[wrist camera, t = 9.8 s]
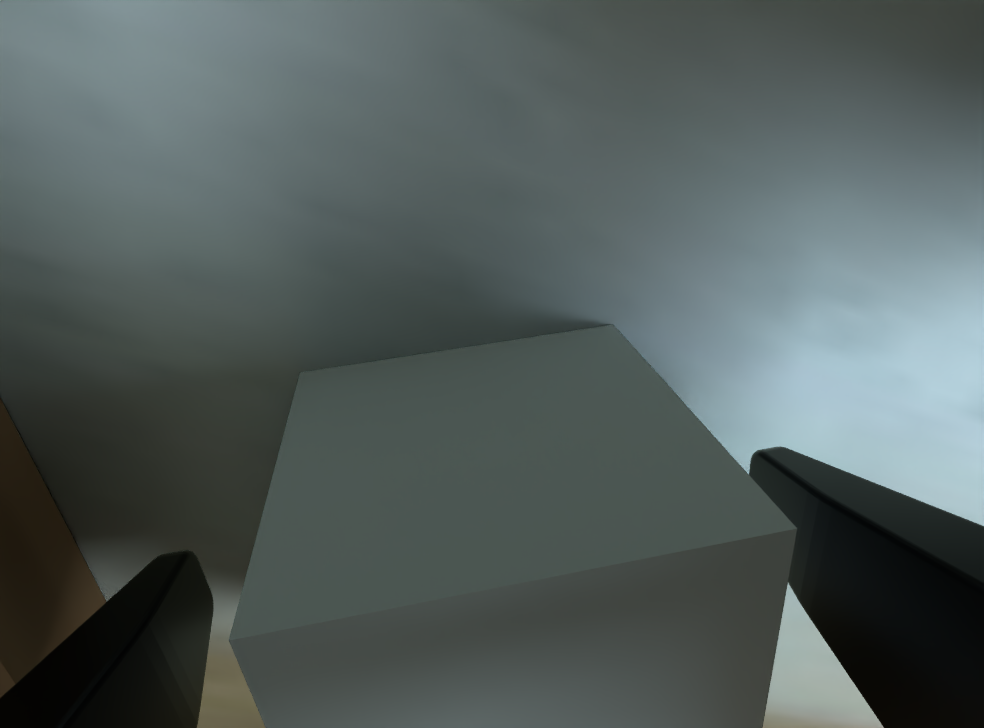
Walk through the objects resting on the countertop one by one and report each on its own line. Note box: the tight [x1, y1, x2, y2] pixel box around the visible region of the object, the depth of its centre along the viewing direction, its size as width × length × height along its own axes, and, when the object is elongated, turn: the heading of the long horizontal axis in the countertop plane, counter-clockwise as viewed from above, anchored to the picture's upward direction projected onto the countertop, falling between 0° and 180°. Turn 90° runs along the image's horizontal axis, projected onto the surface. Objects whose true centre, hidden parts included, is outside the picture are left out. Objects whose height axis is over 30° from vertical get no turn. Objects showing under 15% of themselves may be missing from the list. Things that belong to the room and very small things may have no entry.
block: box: [229, 325, 797, 728], centre depth 8 cm, size 4×4×4 cm
